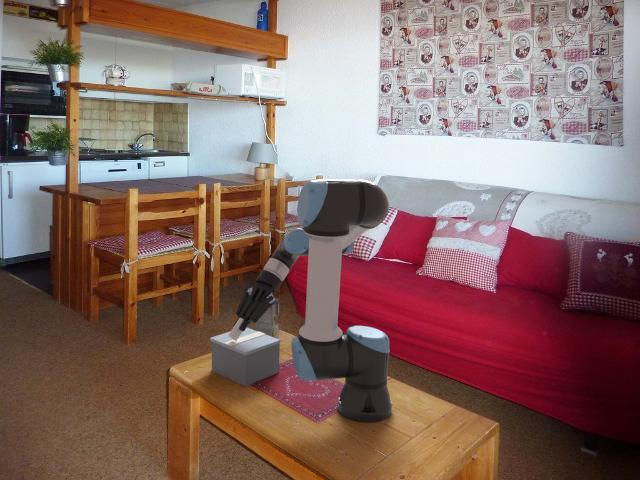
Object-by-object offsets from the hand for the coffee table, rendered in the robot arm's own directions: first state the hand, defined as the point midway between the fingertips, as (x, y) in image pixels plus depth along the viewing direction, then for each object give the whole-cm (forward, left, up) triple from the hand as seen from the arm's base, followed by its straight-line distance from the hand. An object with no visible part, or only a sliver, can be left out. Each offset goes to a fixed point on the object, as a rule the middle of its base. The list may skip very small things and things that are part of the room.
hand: (232, 338), depth 188 cm
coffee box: (+12, -26, -13) cm, 31 cm away
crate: (0, -5, -12) cm, 13 cm away
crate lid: (0, -5, -2) cm, 5 cm away
